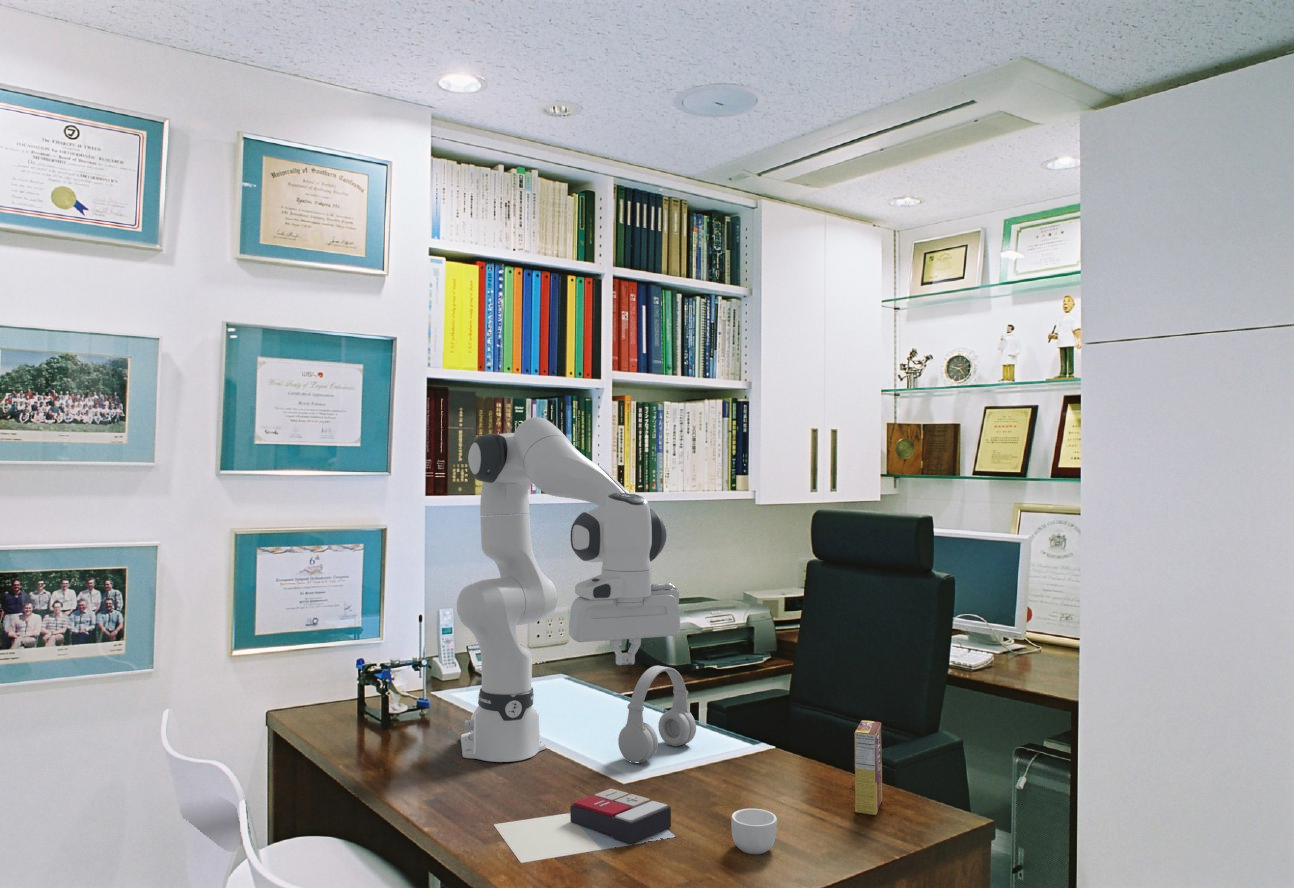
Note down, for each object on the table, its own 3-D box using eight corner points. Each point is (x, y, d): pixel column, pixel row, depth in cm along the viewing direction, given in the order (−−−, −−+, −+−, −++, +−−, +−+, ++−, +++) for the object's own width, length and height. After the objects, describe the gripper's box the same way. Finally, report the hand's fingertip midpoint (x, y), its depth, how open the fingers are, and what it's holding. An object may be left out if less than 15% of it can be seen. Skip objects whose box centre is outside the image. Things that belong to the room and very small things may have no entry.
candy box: (860, 796, 181) (861, 719, 181) (882, 800, 179) (883, 721, 180) (852, 812, 173) (854, 730, 173) (876, 815, 171) (877, 733, 171)
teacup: (766, 862, 150) (767, 829, 150) (723, 852, 154) (724, 820, 154) (787, 840, 159) (787, 809, 159) (745, 831, 162) (746, 801, 163)
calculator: (610, 785, 173) (671, 801, 164) (611, 808, 173) (672, 826, 163) (569, 800, 165) (630, 819, 155) (569, 825, 165) (631, 844, 155)
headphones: (667, 739, 217) (669, 657, 217) (697, 746, 212) (699, 662, 212) (615, 760, 200) (617, 671, 201) (647, 768, 195) (648, 677, 196)
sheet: (493, 825, 163) (493, 824, 163) (636, 804, 175) (636, 803, 175) (521, 863, 148) (521, 862, 148) (676, 837, 159) (676, 836, 159)
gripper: (671, 581, 169) (670, 656, 168) (566, 585, 160) (565, 664, 160) (686, 585, 163) (685, 663, 163) (578, 589, 155) (577, 672, 154)
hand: (625, 664), depth 161 cm, fingers closed
